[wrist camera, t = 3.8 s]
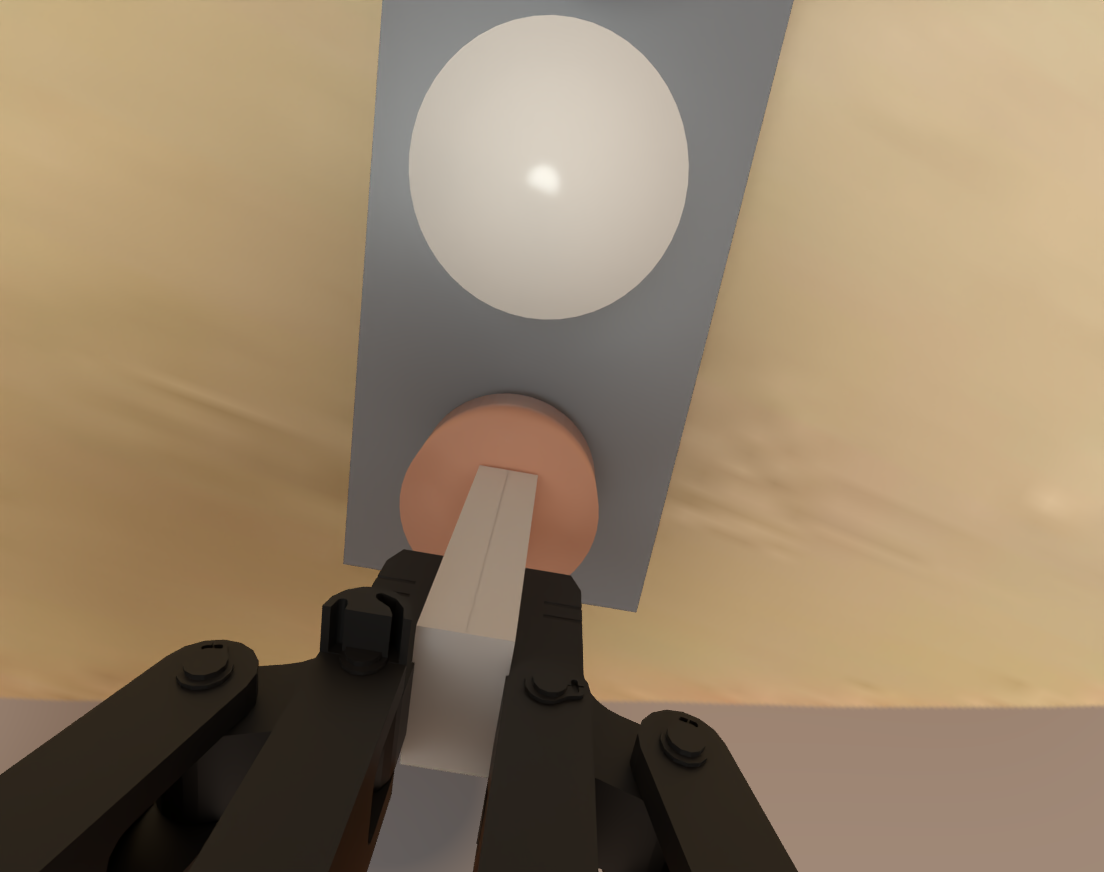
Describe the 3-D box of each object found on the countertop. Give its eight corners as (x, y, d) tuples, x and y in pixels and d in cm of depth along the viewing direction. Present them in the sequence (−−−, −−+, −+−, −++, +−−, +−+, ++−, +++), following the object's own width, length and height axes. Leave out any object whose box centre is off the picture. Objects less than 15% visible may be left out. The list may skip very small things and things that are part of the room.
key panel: (393, 491, 26) (343, 563, 20) (465, -270, 18) (417, -505, 12) (621, 529, 26) (636, 612, 20) (794, -203, 18) (896, -401, 12)
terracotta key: (444, 477, 23) (391, 582, 16) (460, 347, 22) (409, 401, 15) (575, 500, 24) (578, 613, 17) (601, 372, 22) (617, 437, 15)
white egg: (460, 271, 19) (396, 294, 12) (482, 87, 17) (423, -12, 10) (622, 301, 19) (653, 340, 12) (659, 120, 17) (720, 45, 10)
